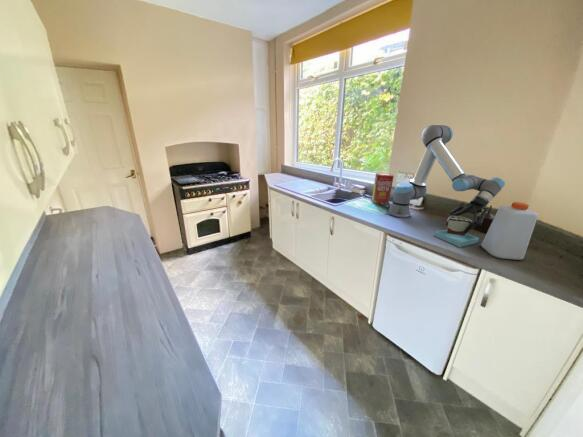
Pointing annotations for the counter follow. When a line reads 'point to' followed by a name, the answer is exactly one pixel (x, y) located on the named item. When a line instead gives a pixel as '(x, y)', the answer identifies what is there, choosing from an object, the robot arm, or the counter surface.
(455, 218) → the food container
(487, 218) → the pepper mill
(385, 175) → the food packaging
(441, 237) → the tray
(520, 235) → the plastic bottle
